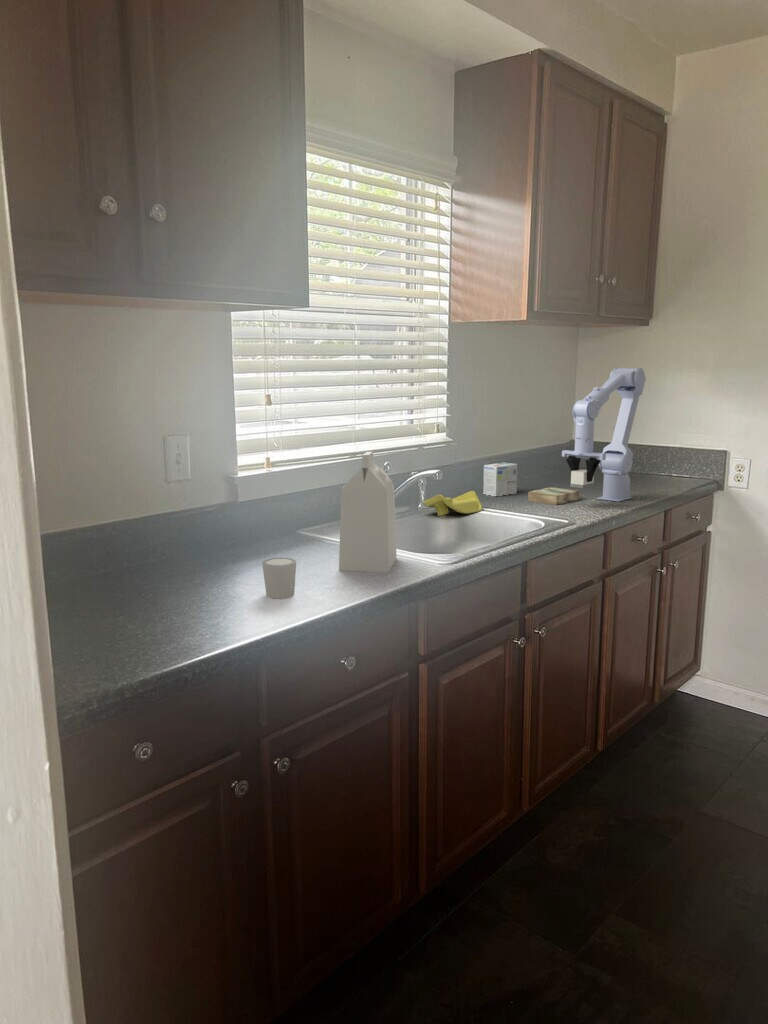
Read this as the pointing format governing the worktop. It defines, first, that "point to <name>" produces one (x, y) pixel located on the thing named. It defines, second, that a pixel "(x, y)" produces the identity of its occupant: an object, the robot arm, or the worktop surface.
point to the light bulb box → (500, 479)
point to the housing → (580, 479)
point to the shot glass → (279, 577)
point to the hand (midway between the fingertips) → (582, 480)
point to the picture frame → (553, 495)
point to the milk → (368, 520)
